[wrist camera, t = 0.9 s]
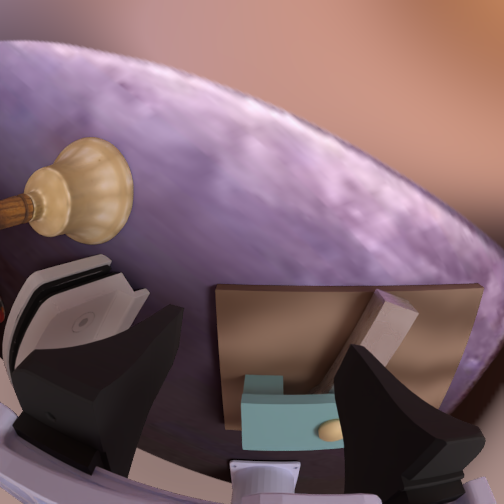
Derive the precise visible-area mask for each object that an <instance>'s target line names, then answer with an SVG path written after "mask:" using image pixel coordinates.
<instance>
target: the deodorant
mask: <svg viewBox="0 0 504 504" xmlns="http://www.w3.org/2000/svg"><path fill="white" fill-rule="evenodd" d="M4 318H5V309H4V304H3V301H2V298H1V296H0V323H1V322H2V321H3V320H4Z"/></svg>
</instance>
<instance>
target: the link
mask: <svg viewBox="0 0 504 504" xmlns="http://www.w3.org/2000/svg"><path fill="white" fill-rule="evenodd" d="M418 314H419V313H418V312H417V310H416V309H415V308H414V307H413V306H412V304H411V303H410V302H409V301H408V300H405V299H403V298H400V297H397V296H395V295H392V294H390V293H387V292H384V291H382V290H379V289H376V290H375V292H374V294H373V296H372V298H371V299H370V301H369V303H368V305H367V307H366V309H365V311H364V312H363V314H362V316H361V318H360V319H359V321H358V323H357V325H356V327H355V328H354V330H353V332H352V333H351V335H350V337H349V338H348V340H347V342H346V344H345V345H344V347H343V348H342V350H341V352H340V353H339V355H338V357H337V358H336V360H335V361H334V363H333V365H332V366H331V368H330V369H329V371H328V372H327V374H326V375H325V377H324V378H323V380H322V381H321V383H320V384H319V385H317V386H315V387H313V388H312V389H311V390H310V391H309V392H308V393H307V395H312V394H334V377H335V375H336V373H337V371H338V369H339V367H340V365H341V363H342V361H343V359H344V357H345V355H346V353H347V350H348V348H349V346H350V344H355V345H361V346H364V347H365V348H366V349H367V350H368V351H370V352H371V353H372V354H373V355H374V356H375V357H376V358H377V359H378V360H379V361H380V362H381V363H382V364H383V365H384V366H386V365H387V363H388V362H389V360H390V359H391V357H392V356H393V355H394V353H395V351H396V350H397V348H398V347H399V345H400V344H401V342H402V341H403V339H404V337H405V336H406V334H407V333H408V331H409V329H410V328H411V326H412V324H413V323H414V321H415V319H416V318H417V316H418Z"/></svg>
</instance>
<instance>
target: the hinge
mask: <svg viewBox="0 0 504 504" xmlns="http://www.w3.org/2000/svg"><path fill="white" fill-rule="evenodd" d="M111 262H112V261H111V260H110V259H109V258H108V257H106V256H104V255H102V254H99V255H96V256H92V257H88V258H84V259H80V260H76V261H73V262H69V263H65V264H62V265H58V266H54V267H51V268H47V269H43V270H40V271H37V272H35V273H33V274H32V275H30V276H29V277H28V279H27V280H26V282H25V283H24V285H23V287H22V289H21V290H20V292H19V294H18V296H17V298H16V300H15V302H14V304H13V307H12V309H11V312H10V314H9V317H8V320H7V324H6V327H5V332H4V337H3V361H4V365H5V368H6V371H7V374H8V377H9V380H10V382H11V384H12V372H13V371H14V370H15V369H16V367H17V366H18V365H19V364H20V363H21V362H22V361H23V360H24V359H25V358H26V357H27V356H28V355H29V354H30V353H31V352H32V351H33V350H34V349H57V348H66V347H73V346H78V345H83V344H87V343H91V342H95V341H98V340H102V339H105V338H108V337H111V336H113V335H116V334H118V333H121V332H123V331H125V330H127V329H129V328H130V326H131V324H132V322H133V321H134V319H135V317H136V316H137V314H138V312H139V311H140V309H141V307H142V306H143V304H144V302H145V301H146V299H147V297H148V296H149V294H150V292H149V291H148V290H147V289H146V288H145V289H142V290H138V291H135V292H134V291H133V289H132V288H131V286H130V285H129V283H128V282H127V280H126V279H125V277H124V275H123V274H122V273H119V274H116V273H115V272H113V273H110V274H108V273H109V271H110V269H111V267H110V264H111ZM12 386H13V384H12ZM13 388H14V387H13Z"/></svg>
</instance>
